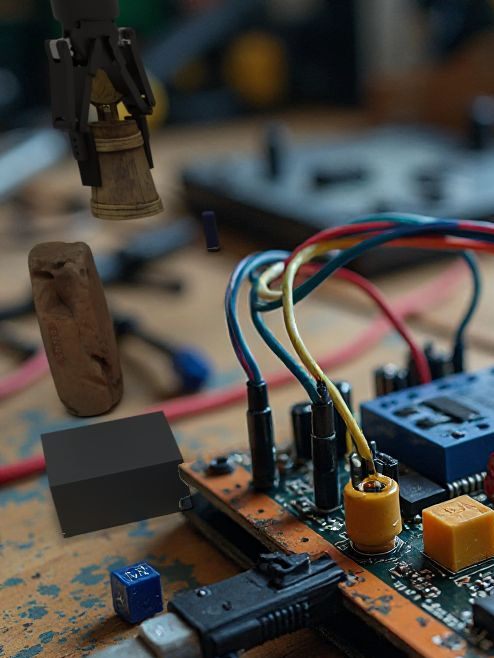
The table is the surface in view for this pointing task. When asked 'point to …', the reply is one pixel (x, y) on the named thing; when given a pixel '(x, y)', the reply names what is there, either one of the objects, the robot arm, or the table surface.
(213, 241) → the eraser
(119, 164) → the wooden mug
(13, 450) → the table surface
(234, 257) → the table surface
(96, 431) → the riser block
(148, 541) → the table surface
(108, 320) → the block
